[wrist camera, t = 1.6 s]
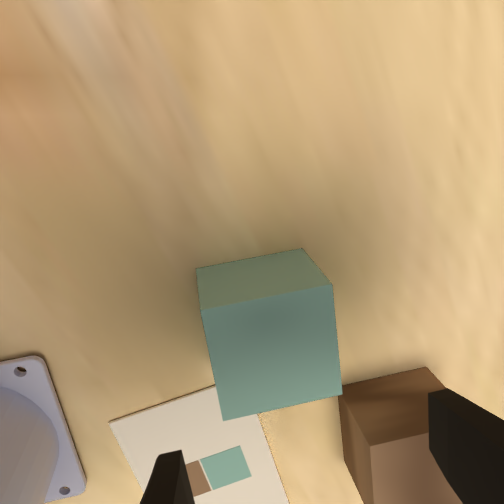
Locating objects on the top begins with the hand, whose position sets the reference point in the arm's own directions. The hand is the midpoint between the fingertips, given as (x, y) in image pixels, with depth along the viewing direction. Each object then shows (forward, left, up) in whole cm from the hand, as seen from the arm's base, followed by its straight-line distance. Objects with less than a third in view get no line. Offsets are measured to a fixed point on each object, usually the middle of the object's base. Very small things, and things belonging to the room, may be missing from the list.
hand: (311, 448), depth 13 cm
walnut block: (+6, -8, -10) cm, 14 cm away
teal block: (0, 0, -10) cm, 10 cm away
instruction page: (-4, -9, -9) cm, 14 cm away
